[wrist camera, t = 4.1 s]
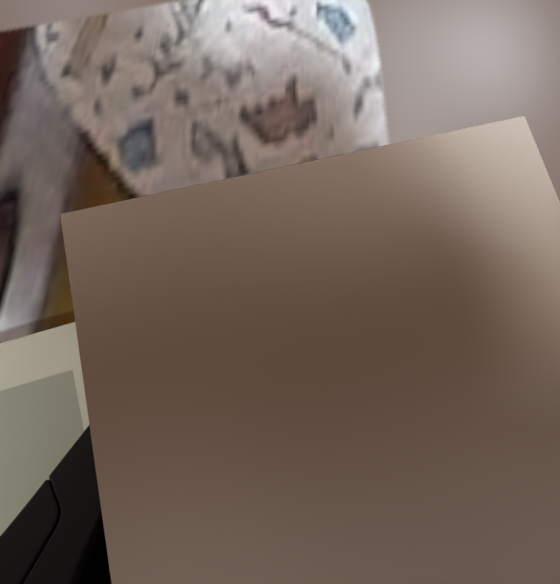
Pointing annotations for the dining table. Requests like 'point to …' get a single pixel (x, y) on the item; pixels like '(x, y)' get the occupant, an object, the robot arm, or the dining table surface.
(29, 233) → the dining table surface
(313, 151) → the dining table surface
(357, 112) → the dining table surface
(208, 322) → the block
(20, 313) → the dining table surface
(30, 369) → the pad
